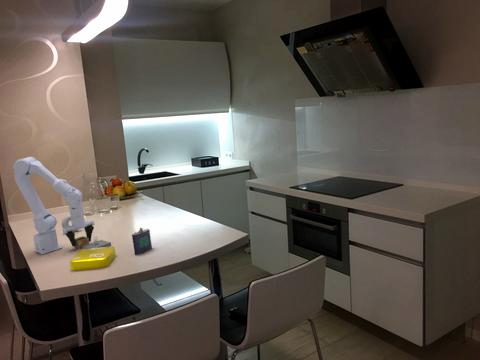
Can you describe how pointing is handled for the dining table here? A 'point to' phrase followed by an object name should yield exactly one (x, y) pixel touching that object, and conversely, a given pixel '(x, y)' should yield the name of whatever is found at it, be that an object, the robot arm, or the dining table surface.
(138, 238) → the flask
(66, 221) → the donut
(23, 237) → the dining table surface
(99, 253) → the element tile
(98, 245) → the rod stand
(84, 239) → the wooden square ring
